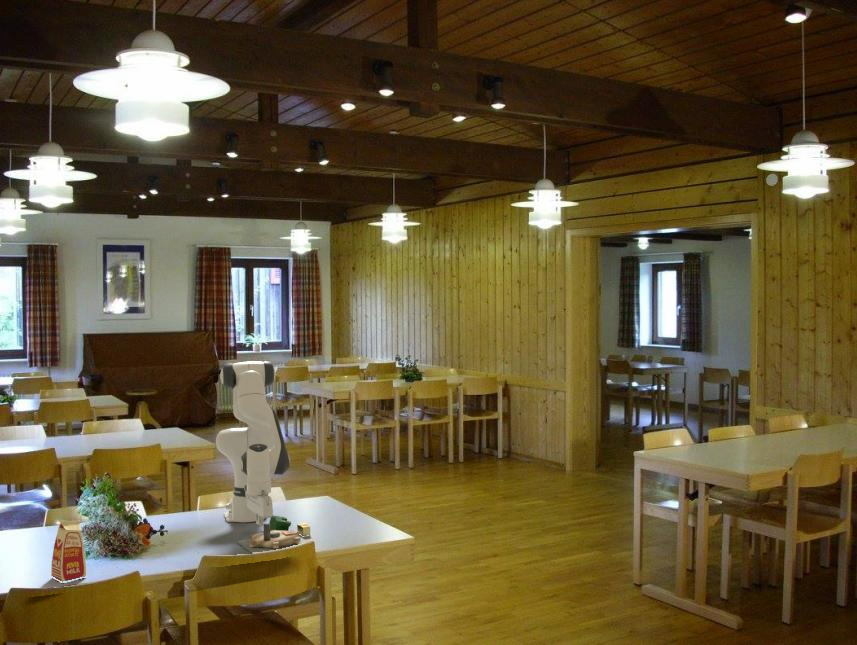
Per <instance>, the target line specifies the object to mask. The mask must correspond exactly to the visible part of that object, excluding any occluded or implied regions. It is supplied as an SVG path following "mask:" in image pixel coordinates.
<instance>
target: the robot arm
mask: <svg viewBox="0 0 857 645" xmlns="http://www.w3.org/2000/svg"><path fill="white" fill-rule="evenodd" d="M276 376H277V375H276V368H275V366H274V364H273V363H272V362H271V361H266V360H263V361H257V360H252V361H251V360H249V361H240V362H235V363H232V362H229V363H225V364H224V365H223V366H222V367H221V371H220V375H219V378H220V382H221V384H222V386H223V387H224V388H225V389H228V390H229V389H230V390H233V391H232V392H233V395H232V402H233V403H232V405H233V406H232V407H233V408H232V409H233V410H232V413H233V415H234V417H235V419H237V420H238V421H240V422H243V423H245V424H246V425H247V426H248V427H233V428H232V427H231V428H227V429H222V430H220V431H219V432H218V433H217V435H216V437H215V446H216V449H217V450H218V451H219V452H220V453H221V454H223V455H224V456H225V457H226V458H227V460H229V461H230V463H231V466H232V469H233V475H234V476H233V477H234V478H233V479H234V486H233V490H232V494H233V496H231V499H230V500H229V501H228V503H226V505H225V508H226V510H228V511H224V512H223V516H224V518H226V519H225V521H226V522H227V523H228V522H230V523H253V522H256V523H255V524H256V525H258V526H259V527H262V526H263V524H264V520H265V519H271V517H272V516H274V510H273V499H272V497H271V495H269V494H271V493H272V479H271V475H275V476H276V475H277V476H278V475H280V476H281V475H284V474H286V472H287V471H288V470H289V469H290V467H291V458H290V455H289V452H288V449H287V446H286V442H285V438H284V436H283V432H282V428H281V425H280V424H281V423H280V422H279V418H278V417H279V416H278V415H277V412H276V411H275V409H273V408H272V407H270V406H269V404H268V402H267V398H266V397H267V396H266V388H267V387H269V386H272V385H273V384H274V382H275V378H276Z"/></svg>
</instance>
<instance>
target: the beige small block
mask: <svg viewBox="0 0 857 645" xmlns="http://www.w3.org/2000/svg"><path fill="white" fill-rule="evenodd" d="M296 526H297V527H296V528H297V530H296V531H298V532H299V534H301V535H302V536H307V535H310V536H311V526H310V525H309V524H307V523H305V522H302V523H298V524H297V525H296ZM302 536H301V537H302Z"/></svg>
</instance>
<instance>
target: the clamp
mask: <svg viewBox="0 0 857 645" xmlns="http://www.w3.org/2000/svg"><path fill="white" fill-rule="evenodd" d="M269 524H270V531H271V530H276V531H278V530H283V531H290V530H289V529H290V527H291V525H292V522H291V521H290V520H288V518H287V517H285V516H278V515H273V516H272V517H271V518H269Z"/></svg>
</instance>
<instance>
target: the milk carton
mask: <svg viewBox="0 0 857 645" xmlns="http://www.w3.org/2000/svg"><path fill="white" fill-rule="evenodd" d="M80 523H82V520H80V519H79V520H63V519H61V520H60V524H59V526H58V529H57V533H56V537H55V540H54V545H53V551H52V558H51V571H50V572H51V576H53V577H55V578H56V579H58V580H60V581H62V582H63V581H68V580H72V579H76V578H80V577H85V576H86V577H87V566H86V565H87V564H86V555H85V545H84V540H83V535H82V529H81V525H80Z"/></svg>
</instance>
